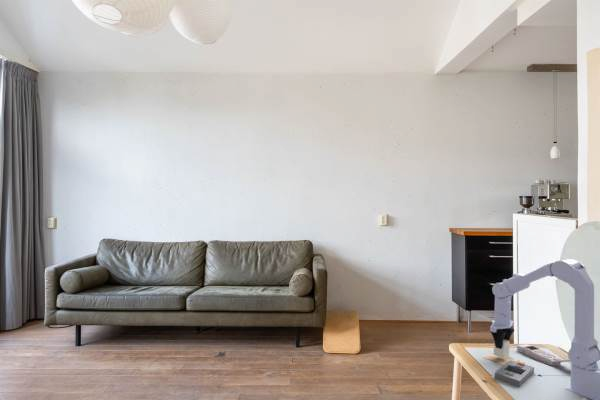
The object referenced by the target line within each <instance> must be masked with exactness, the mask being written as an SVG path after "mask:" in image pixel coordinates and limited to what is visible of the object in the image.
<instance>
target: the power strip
mask: <svg viewBox="0 0 600 400" xmlns="http://www.w3.org/2000/svg"><path fill="white" fill-rule="evenodd" d="M534 373H535V367H534V366H531V365H527V364H526V363H525V362H524V361H523V362H522V361H519V362H515V361H512V360H510V361H509V362H507V363H506V364H505V365H501V367H500V368H499V369H498V370H496V371H495V372H494V379H495V380H498V381H501V382H503V383H506V384H509V385H513V386H515V387H518V388H521V387H522V386H523V385H524V383H526V382H527V381H528V380H529V378H531V376H533V374H534Z"/></svg>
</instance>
